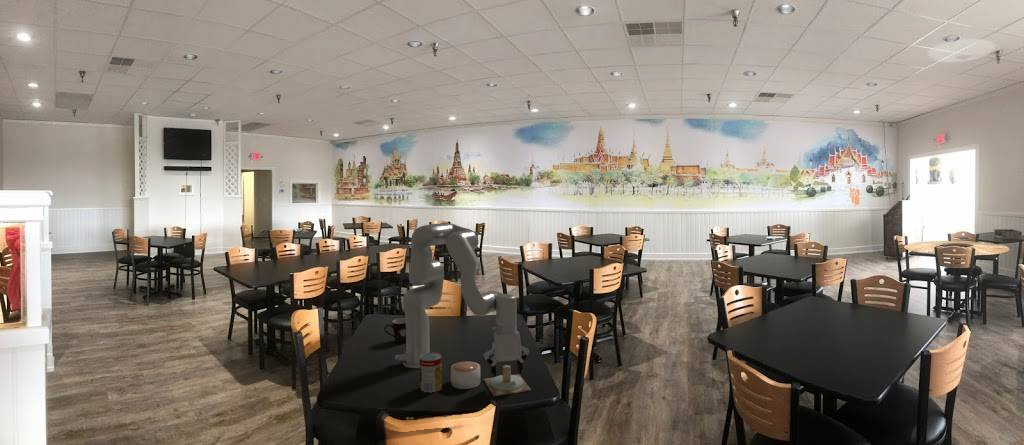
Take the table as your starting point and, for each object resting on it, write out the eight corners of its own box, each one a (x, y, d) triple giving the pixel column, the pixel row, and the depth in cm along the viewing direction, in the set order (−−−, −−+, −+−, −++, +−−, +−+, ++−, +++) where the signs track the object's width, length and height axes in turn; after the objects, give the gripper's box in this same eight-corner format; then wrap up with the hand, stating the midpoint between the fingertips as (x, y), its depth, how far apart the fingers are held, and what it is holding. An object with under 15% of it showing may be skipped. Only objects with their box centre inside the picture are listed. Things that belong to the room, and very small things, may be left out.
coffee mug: (413, 338, 228) (413, 318, 228) (408, 344, 220) (407, 323, 219) (390, 338, 230) (389, 317, 229) (383, 344, 221) (383, 323, 220)
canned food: (443, 383, 178) (442, 352, 177) (440, 392, 170) (440, 360, 169) (422, 383, 177) (421, 352, 176) (418, 393, 170) (417, 360, 169)
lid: (495, 392, 168) (494, 375, 168) (487, 379, 180) (486, 362, 179) (527, 388, 172) (527, 371, 171) (517, 375, 183) (517, 359, 182)
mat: (493, 396, 167) (493, 394, 167) (483, 380, 180) (483, 378, 180) (530, 390, 171) (530, 389, 171) (519, 375, 184) (519, 374, 184)
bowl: (453, 390, 172) (453, 373, 171) (448, 378, 182) (448, 362, 181) (483, 386, 175) (483, 370, 174) (476, 375, 185) (476, 359, 185)
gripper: (485, 333, 168) (486, 380, 169) (532, 329, 173) (532, 375, 174) (481, 327, 175) (481, 372, 176) (525, 323, 180) (525, 367, 181)
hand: (506, 373), depth 175 cm, fingers open, 9 cm apart
